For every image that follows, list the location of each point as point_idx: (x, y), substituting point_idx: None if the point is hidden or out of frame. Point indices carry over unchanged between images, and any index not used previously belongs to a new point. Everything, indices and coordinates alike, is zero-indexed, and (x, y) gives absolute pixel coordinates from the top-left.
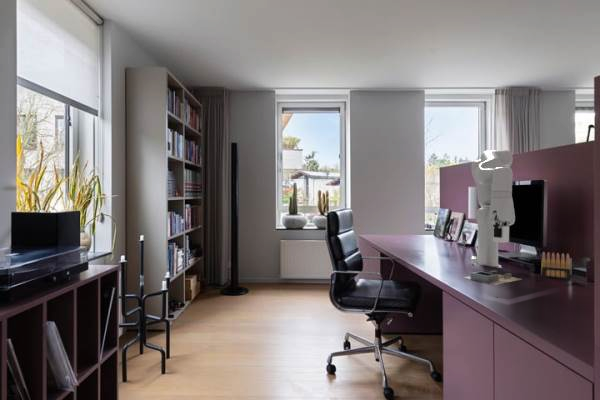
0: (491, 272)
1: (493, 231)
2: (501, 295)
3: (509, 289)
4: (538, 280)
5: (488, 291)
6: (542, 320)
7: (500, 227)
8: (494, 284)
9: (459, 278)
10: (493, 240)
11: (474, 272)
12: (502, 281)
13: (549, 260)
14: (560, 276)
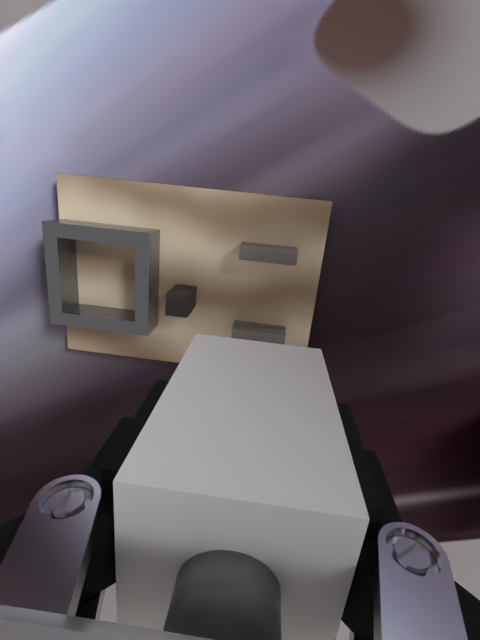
0: (239, 255)
1: (155, 407)
2: (2, 394)
3: (117, 379)
4: (430, 397)
5: (5, 344)
6: None
7: (100, 586)
8: (68, 343)
9: (95, 127)
10: (192, 344)
11: (75, 228)
12: (159, 341)
13: None
14: None
